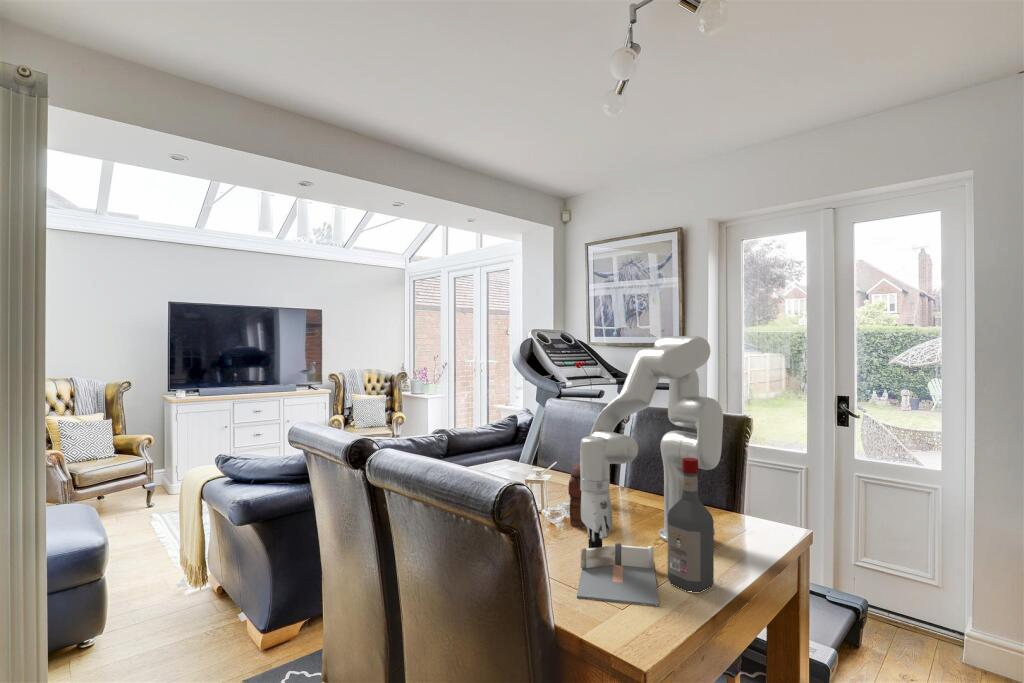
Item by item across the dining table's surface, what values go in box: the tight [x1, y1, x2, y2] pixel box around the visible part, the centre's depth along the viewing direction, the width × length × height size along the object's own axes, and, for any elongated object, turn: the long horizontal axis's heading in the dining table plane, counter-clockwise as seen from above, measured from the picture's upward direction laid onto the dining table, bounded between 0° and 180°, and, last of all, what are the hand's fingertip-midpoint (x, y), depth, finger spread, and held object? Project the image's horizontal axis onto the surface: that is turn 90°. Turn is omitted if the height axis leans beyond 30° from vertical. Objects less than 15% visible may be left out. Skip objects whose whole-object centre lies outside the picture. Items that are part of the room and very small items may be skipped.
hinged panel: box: [580, 545, 615, 570], centre depth 133 cm, size 9×1×5 cm, turn 106°
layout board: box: [576, 542, 660, 607], centre depth 128 cm, size 18×24×6 cm
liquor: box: [667, 458, 715, 593], centre depth 125 cm, size 9×9×30 cm
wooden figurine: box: [567, 464, 586, 527], centre depth 168 cm, size 12×6×18 cm, turn 157°
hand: (595, 554), depth 135 cm, fingers closed
